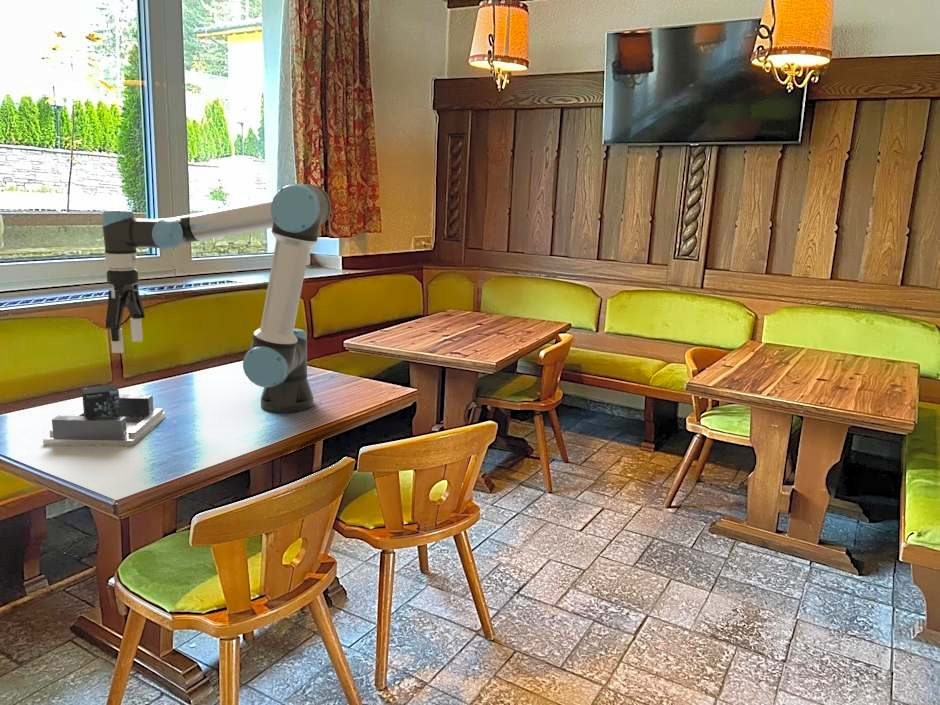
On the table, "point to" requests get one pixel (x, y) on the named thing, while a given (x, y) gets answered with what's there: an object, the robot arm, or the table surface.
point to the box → (101, 401)
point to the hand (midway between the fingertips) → (128, 347)
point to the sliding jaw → (136, 405)
